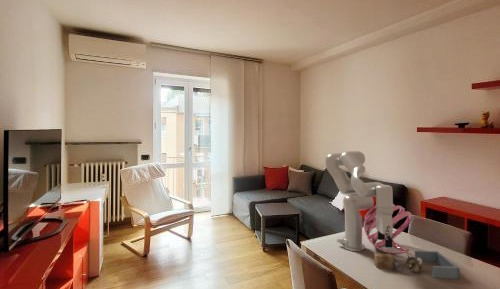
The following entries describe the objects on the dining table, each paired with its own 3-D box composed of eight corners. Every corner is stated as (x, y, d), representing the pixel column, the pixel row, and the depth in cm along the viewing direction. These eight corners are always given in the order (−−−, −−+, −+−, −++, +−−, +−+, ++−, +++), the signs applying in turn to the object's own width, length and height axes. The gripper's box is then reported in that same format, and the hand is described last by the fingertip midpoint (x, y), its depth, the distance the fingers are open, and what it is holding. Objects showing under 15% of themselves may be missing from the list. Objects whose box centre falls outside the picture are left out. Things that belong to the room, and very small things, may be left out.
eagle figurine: (402, 260, 137) (401, 265, 130) (411, 250, 136) (411, 254, 129) (416, 272, 134) (416, 277, 126) (425, 262, 132) (426, 266, 125)
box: (433, 277, 123) (433, 267, 123) (414, 259, 141) (414, 250, 140) (459, 278, 122) (459, 268, 122) (437, 260, 139) (437, 251, 139)
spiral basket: (439, 223, 139) (396, 187, 157) (402, 245, 129) (361, 204, 148) (416, 250, 157) (381, 215, 176) (382, 271, 147) (348, 231, 166)
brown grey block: (379, 271, 129) (379, 259, 129) (371, 260, 140) (371, 249, 140) (401, 272, 128) (401, 260, 128) (391, 261, 139) (391, 250, 139)
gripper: (370, 205, 142) (371, 236, 142) (383, 214, 124) (383, 250, 125) (385, 205, 141) (385, 237, 141) (400, 214, 124) (400, 250, 124)
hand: (384, 243), depth 133 cm, fingers open, 9 cm apart
